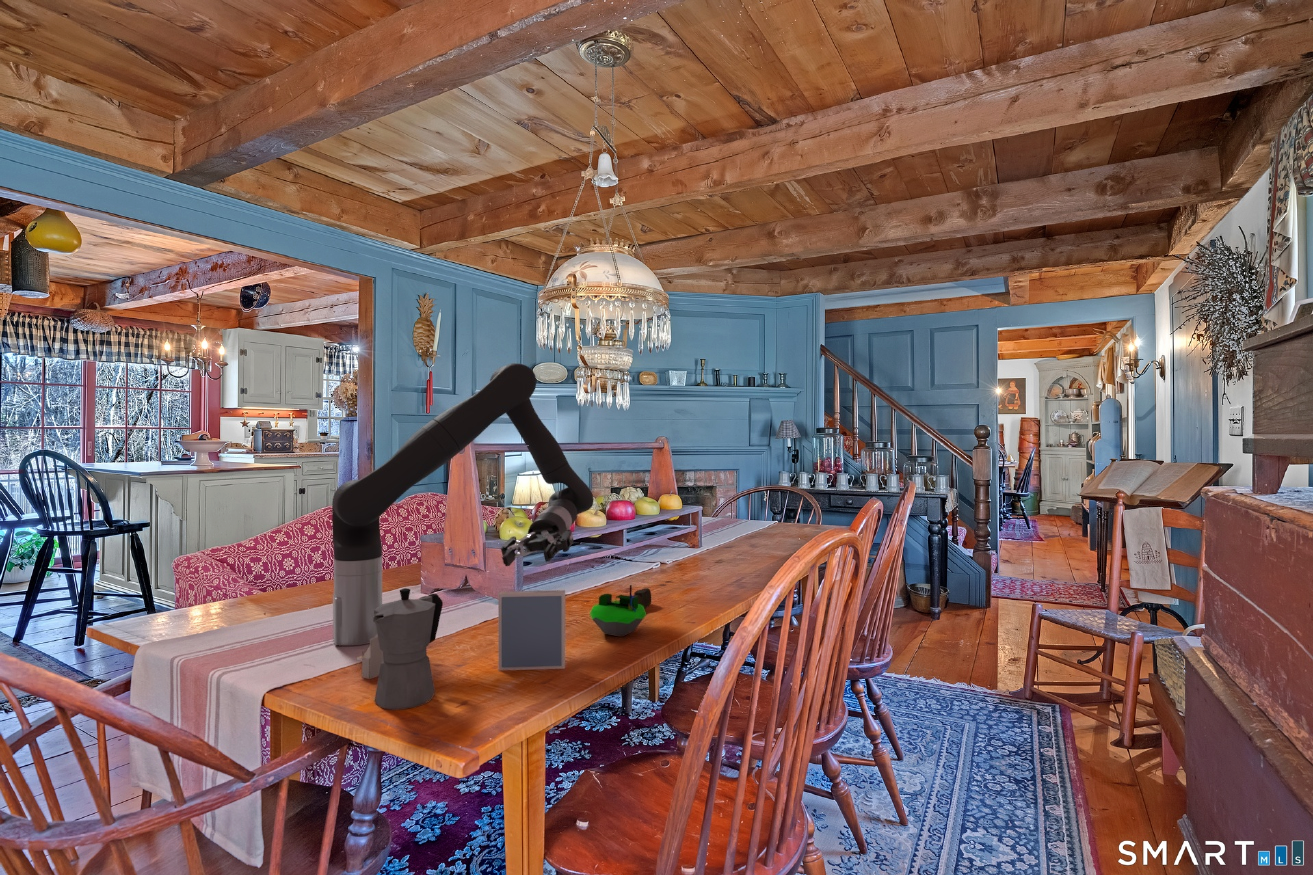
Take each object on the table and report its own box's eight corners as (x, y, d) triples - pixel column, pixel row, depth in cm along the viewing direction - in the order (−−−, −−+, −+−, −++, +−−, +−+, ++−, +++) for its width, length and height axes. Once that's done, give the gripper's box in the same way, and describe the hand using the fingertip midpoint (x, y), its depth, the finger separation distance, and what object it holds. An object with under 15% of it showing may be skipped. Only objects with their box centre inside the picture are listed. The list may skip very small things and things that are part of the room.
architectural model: (355, 678, 120) (355, 637, 120) (386, 666, 126) (386, 626, 126) (369, 681, 118) (369, 639, 118) (400, 669, 124) (400, 629, 124)
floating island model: (654, 631, 147) (655, 581, 147) (626, 645, 137) (627, 591, 137) (608, 623, 153) (609, 575, 153) (578, 636, 143) (579, 584, 143)
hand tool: (612, 624, 153) (612, 603, 153) (598, 621, 155) (599, 601, 155) (659, 606, 168) (660, 588, 168) (646, 604, 171) (647, 586, 171)
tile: (498, 670, 122) (498, 594, 122) (499, 666, 124) (499, 591, 124) (564, 668, 123) (564, 592, 123) (565, 665, 125) (565, 590, 125)
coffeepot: (398, 719, 102) (398, 600, 102) (351, 709, 105) (350, 594, 105) (463, 683, 116) (463, 579, 116) (419, 676, 119) (419, 575, 119)
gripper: (516, 515, 148) (487, 546, 133) (577, 507, 145) (555, 537, 130) (524, 546, 150) (497, 580, 135) (585, 539, 147) (564, 572, 132)
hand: (525, 559), depth 132 cm, fingers open, 8 cm apart
